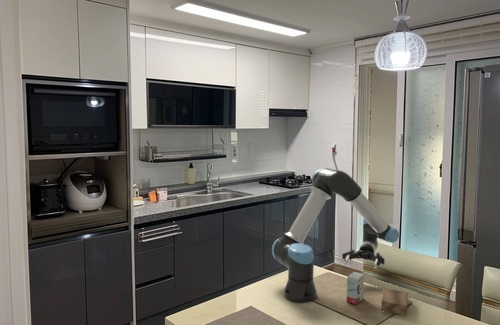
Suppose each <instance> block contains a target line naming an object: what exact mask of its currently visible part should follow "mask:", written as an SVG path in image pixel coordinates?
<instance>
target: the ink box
mask: <svg viewBox="0 0 500 325" xmlns="http://www.w3.org/2000/svg"><path fill="white" fill-rule="evenodd" d="M364 278H365V276H364V273H361V272H356V271H353V272H352V273H350V274H349V275H348V276H347V278H346V279H347V280H346V282H347V284H346V303H348V302H349V304H351V303H352V305H355V304H356V306H357V305H358V304H359V303H360V302H361V301H362V300H363V299H364V289H365V288H364V285H365V284H364V283H365V279H364Z"/></svg>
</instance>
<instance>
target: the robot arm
mask: <svg viewBox="0 0 500 325" xmlns="http://www.w3.org/2000/svg"><path fill="white" fill-rule="evenodd" d="M311 183H312V184H311V186H310V190H311V192H310V194H309V195H308V198H307V199H306V201H305V203H304V204H303V206H302V208H301V210H300V211H299V213H298V215H297V216H296V218H295V219H294V222H293V223H292V224H291V226H290V228H289V230H288V232H284V233H283V235H282V236H281V237H280V238H277V239H276V240H275V241H274V242H273V244H272V248H271V253H272V254H271V255H272V256H273V258H274V259H275V260H276V261H277V262H278V263H279V264H281V265H283V266H284V267H286V268H287V269H288V270H287V272H288V273H287V281H286V284H285V287H284V291H283V292H284V293H283V294H284V297H285V298H286V299H287V300H289V301H291V302H294V303H299V304H300V303H302V304H303V303H310V302H314V301H315V300H316V299H317V298H318V291H317V288H316V284H315V282H314V269H315V268H314V264H315V263H314V260H315V256H314V250H313V248H312V247H311V246H310V245H309V244H306V243H304V241H305V239H306V237H307V235H308V234H309V232H310V230H311V228H312V227H313V225H314V223H315V221H316V219H317V218H318V217H319V214H320V212H321V211H322V209H323V207H324V205H325V203H326V201H327V200H330V199H332V197H333V196H334V194H335V195H338V196H340V197H341V198H342V199H343V200H345V202H347V203H350V204H351V205H352V207H353V208H354V209H355V210H356V212H358V213H359V215H360V216H361V217H362V218H363V220H362V221H363V222H362V243H361V245H360V247H359V249H358V250H357V251H356V250H355V249H351V250H349V251H346V252H344V253H342V259H343V261H344V262H345V263H344V265H345V266H347V265H348V264H349V262H350V260H353V259H363V260H366V261H367V260H368V261H371V262H372V261H373V262H374V263H373V264H374V265H373V266H374V268H373V269H375V270H376V269H377V267H379V266H381V265H385V258H384V257H383V255H381V254H380V253H379V252H376V250H377V248H378V246H379V242H378V239H380V240H382V241H385V242H388V243H391V244H393V243H396V242H397V241H398V239H399V237H400V232H399V230H398V229H396V227H392V226H391V225H389V223H388V221H386V219H385V218H384V217H383V216H382V215H381V213H379V211H378V210H377V209H376V207H374V205H373V203H371V202H370V200H369V199H368V197H367V196H365V194H364V193H363V192H362V191H363V189H362V188H361V186H360V185H359V184H358V182H357V181H356V180H354V179H353V178H352V177H351V176H350V175H349V174H348V173H347V172H345V171H342V170H339V169H332V168H329V167H326V168H325V167H324V168H323V167H322V168H319V169H317V170H316V171H315V172H314V173H313V175H312V177H311Z"/></svg>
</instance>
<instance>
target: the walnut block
mask: <svg viewBox="0 0 500 325" xmlns="http://www.w3.org/2000/svg"><path fill="white" fill-rule="evenodd" d="M408 301H409V292H408V291H403V290H402V291H401V290H395V289H389V288H384V291H383V293H382V298H381V307H380V308H381V310H380V311H384V312H383V313H386V312H388V313H387V314H391V313H392V314H393V315H398V316H403V317H407V314H408V304H409V302H408Z"/></svg>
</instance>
